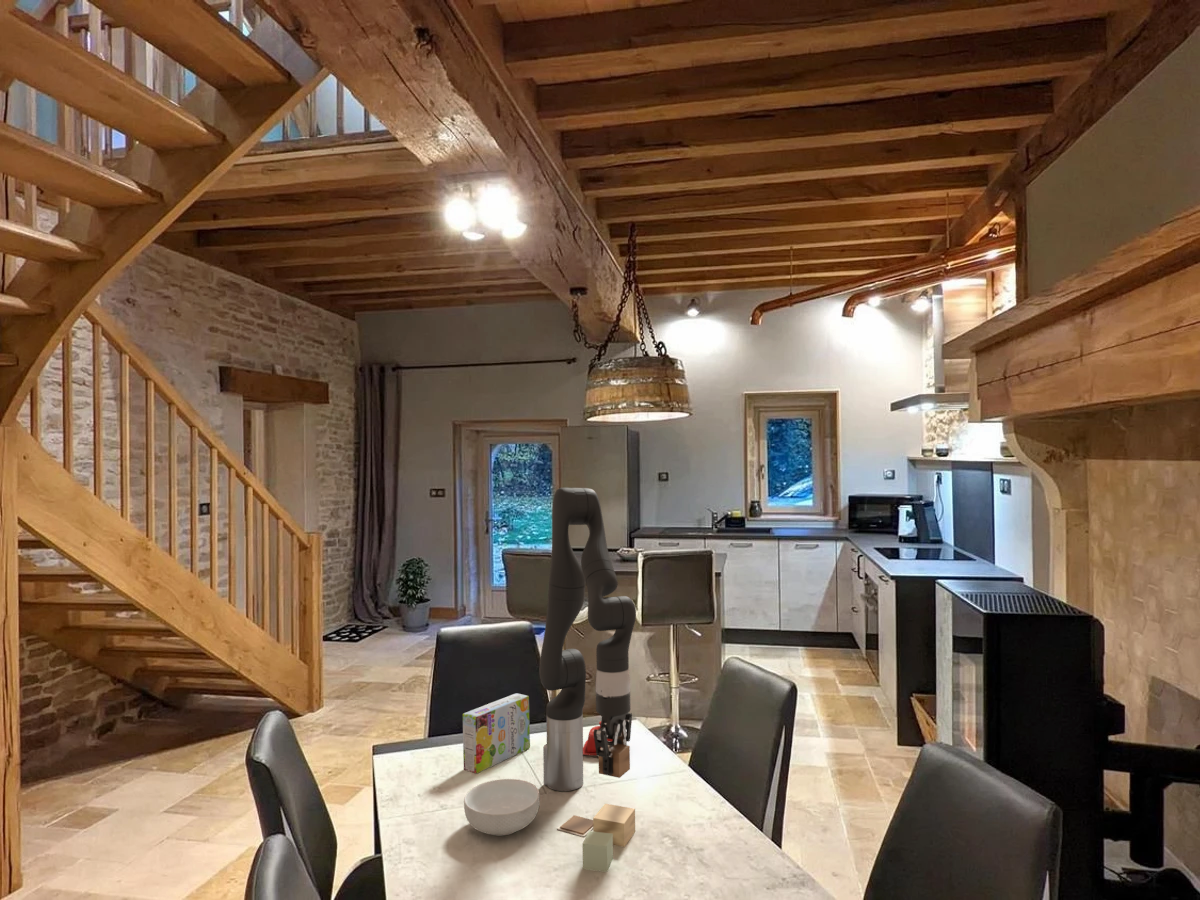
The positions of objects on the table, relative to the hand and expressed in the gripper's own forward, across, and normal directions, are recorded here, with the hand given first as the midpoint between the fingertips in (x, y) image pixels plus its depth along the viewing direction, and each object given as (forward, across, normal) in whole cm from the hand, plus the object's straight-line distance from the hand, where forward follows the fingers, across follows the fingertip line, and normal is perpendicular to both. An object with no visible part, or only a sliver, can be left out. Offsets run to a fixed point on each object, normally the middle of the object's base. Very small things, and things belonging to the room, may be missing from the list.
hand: (614, 768), depth 150 cm
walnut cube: (0, 0, 0) cm, 0 cm away
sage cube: (+14, +11, +2) cm, 18 cm away
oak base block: (+14, 0, 0) cm, 14 cm away
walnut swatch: (+14, 0, -9) cm, 17 cm away
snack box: (+14, -22, -48) cm, 55 cm away
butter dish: (+14, -40, -25) cm, 49 cm away
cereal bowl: (+14, +8, -24) cm, 29 cm away
